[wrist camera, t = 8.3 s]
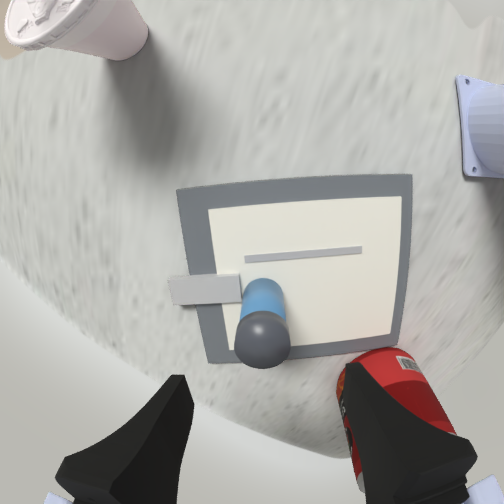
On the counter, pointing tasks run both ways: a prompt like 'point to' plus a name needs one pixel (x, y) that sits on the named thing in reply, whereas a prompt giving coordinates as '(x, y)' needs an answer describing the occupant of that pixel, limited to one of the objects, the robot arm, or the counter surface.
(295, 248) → the clipboard
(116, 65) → the counter surface
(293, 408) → the counter surface
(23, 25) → the smoothie
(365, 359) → the canned food
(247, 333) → the marker
